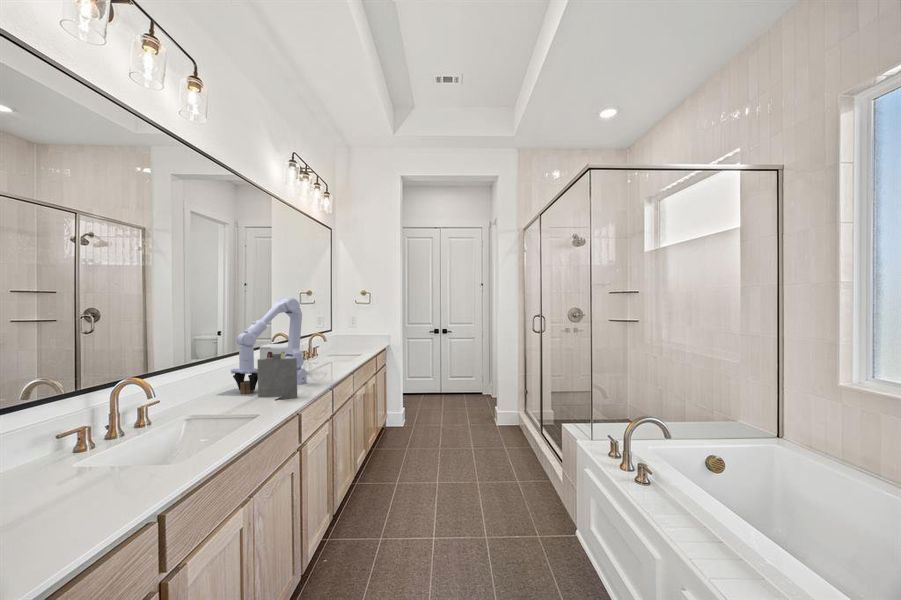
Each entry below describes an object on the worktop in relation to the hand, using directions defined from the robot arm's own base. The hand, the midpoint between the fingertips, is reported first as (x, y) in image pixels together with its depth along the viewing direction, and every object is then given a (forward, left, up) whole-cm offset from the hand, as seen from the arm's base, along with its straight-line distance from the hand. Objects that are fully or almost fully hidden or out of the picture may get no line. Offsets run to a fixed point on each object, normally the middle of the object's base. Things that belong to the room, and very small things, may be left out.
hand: (247, 389), depth 165 cm
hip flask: (-17, +3, -3) cm, 18 cm away
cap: (0, 0, -1) cm, 1 cm away
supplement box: (+12, -42, -3) cm, 44 cm away
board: (+3, -1, -3) cm, 4 cm away
